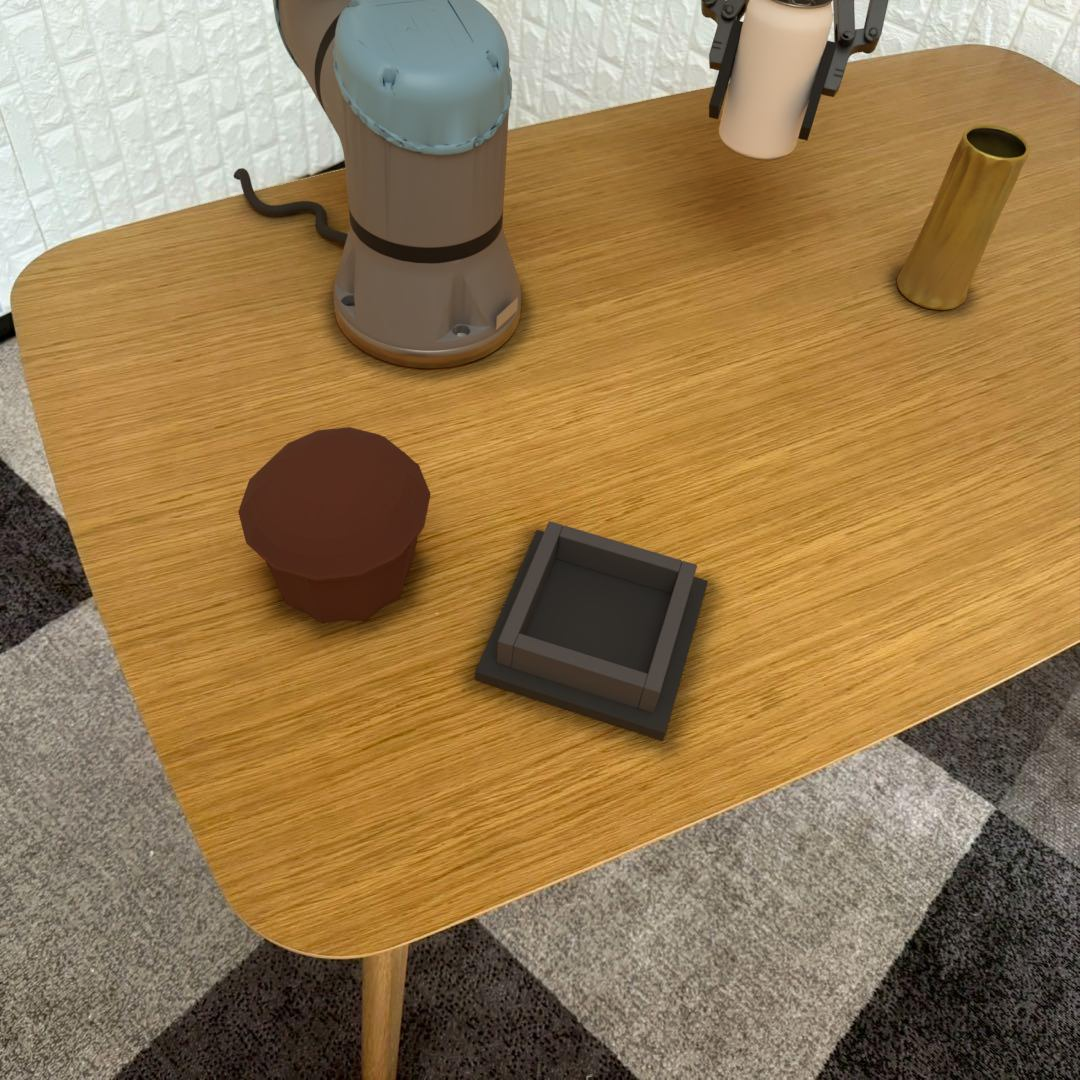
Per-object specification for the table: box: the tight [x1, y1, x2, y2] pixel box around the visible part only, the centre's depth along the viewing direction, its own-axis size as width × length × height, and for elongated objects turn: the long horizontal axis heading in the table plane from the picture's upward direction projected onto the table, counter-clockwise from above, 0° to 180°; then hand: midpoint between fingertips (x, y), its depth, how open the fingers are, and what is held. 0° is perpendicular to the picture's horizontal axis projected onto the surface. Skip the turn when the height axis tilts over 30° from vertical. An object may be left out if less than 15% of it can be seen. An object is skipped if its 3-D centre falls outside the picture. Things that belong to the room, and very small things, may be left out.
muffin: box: [237, 426, 432, 624], centre depth 63 cm, size 12×11×10 cm
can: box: [718, 0, 834, 162], centre depth 79 cm, size 6×6×12 cm
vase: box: [896, 124, 1031, 311], centre depth 85 cm, size 6×6×14 cm
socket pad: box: [474, 520, 709, 741], centre depth 64 cm, size 12×12×4 cm
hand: (758, 122), depth 79 cm, fingers closed on can, 6 cm apart
